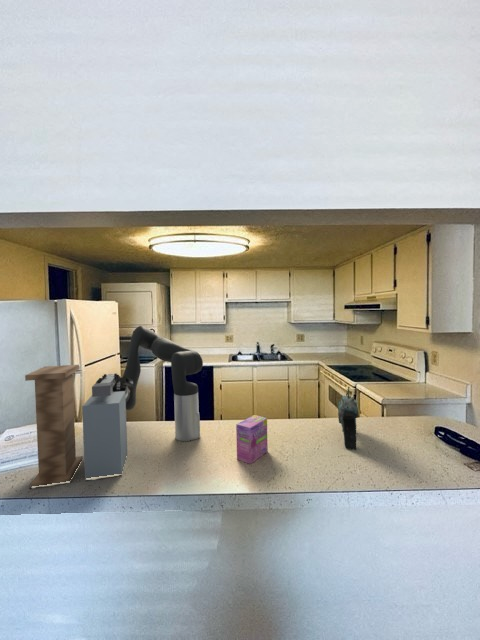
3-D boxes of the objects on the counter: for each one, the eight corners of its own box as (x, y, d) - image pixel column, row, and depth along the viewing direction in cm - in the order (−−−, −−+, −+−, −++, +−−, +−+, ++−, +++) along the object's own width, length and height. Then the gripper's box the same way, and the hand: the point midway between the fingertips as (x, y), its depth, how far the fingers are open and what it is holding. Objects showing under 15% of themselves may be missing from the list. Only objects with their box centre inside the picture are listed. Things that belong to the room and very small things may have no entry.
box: (250, 464, 95) (249, 427, 95) (236, 459, 99) (235, 423, 98) (268, 451, 103) (267, 417, 103) (254, 447, 107) (253, 414, 106)
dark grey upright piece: (360, 452, 101) (359, 393, 101) (339, 450, 103) (338, 392, 102) (353, 429, 120) (353, 379, 120) (336, 428, 122) (336, 379, 122)
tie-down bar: (105, 381, 109) (105, 373, 109) (120, 380, 110) (120, 372, 110) (92, 396, 89) (91, 386, 89) (110, 395, 90) (110, 385, 90)
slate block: (127, 454, 104) (125, 391, 103) (121, 475, 90) (119, 402, 90) (95, 458, 101) (93, 393, 101) (85, 481, 88) (82, 406, 87)
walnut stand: (82, 460, 100) (78, 364, 99) (69, 483, 87) (65, 372, 86) (49, 464, 98) (44, 366, 97) (30, 489, 84) (25, 375, 83)
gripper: (99, 382, 119) (88, 367, 104) (136, 379, 122) (131, 364, 107) (97, 401, 115) (86, 388, 101) (136, 398, 119) (131, 385, 104)
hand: (110, 376), depth 104 cm, fingers closed on tie-down bar, 2 cm apart
